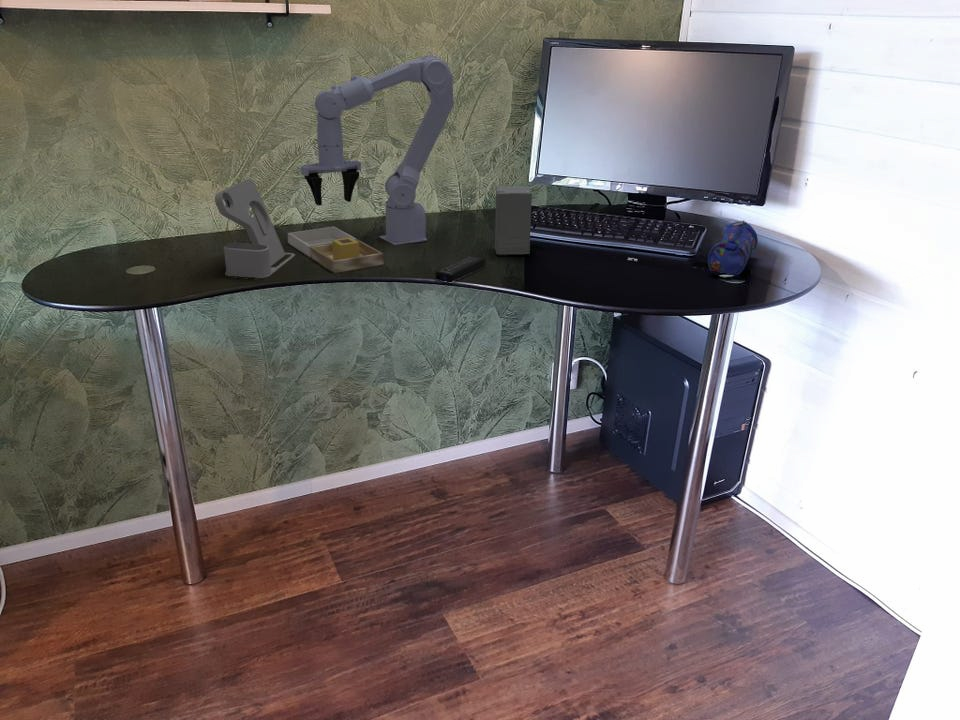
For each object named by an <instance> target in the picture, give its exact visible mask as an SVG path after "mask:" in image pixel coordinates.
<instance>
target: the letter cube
mask: <svg viewBox="0 0 960 720" xmlns="http://www.w3.org/2000/svg"><path fill="white" fill-rule="evenodd" d="M332 248H333V260H335V261H336V260H342V259H348V258H354V257H360V250H359V242H357V241H356V240H354V239H352V238H343V239H337V240H332Z"/></svg>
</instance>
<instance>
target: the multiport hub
mask: <svg viewBox="0 0 960 720" xmlns="http://www.w3.org/2000/svg"><path fill="white" fill-rule="evenodd" d="M486 261H487V259H486V258H484V257H479V256H475V255H468V256H466V257H463V258H462V259H460V260H457V261H455V262H453V263H451V264H448V265H446V266H444V267H442V268H440V269H437V270H435V273H434V277H435V278H434V279H438V280H442V281H447V282H452V281H453V280H455V279H458V278H460V277H462V276H464V275H467V274H469V273H471V272H474V271H476V270H478V269H480V268H482V267H484V266H486V264H487V262H486Z"/></svg>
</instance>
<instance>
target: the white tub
mask: <svg viewBox="0 0 960 720" xmlns="http://www.w3.org/2000/svg"><path fill="white" fill-rule="evenodd" d="M343 238H352V239H354V240H358V239H357V238H356V237H354V236H352V235H350V234H349V233H347V232H345V231H343V230H341V229H339V228H338V227H336V226H335V225H334V226H328V227H327V226H326V227H321V228H312V229H306V230H300V231H293V232H287V244H288V245H290V246H291V247H293V248H295V249H297V250H298V251H299V252H301V253H303V254H304V255H305V256H308V258H311V253H310V247H315V246H321V245H327V244H332V240H337V239H343Z"/></svg>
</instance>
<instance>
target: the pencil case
mask: <svg viewBox="0 0 960 720" xmlns="http://www.w3.org/2000/svg"><path fill="white" fill-rule="evenodd" d="M757 246H758V235H757V232H756V230H755V229H754V227H752V226H751V224H749V223H748V222H746V221H745V220H744V219H743V220H740V221H735V222H732V223H729V224H727V225H726V226H725V227H724V229H723V230H722V233H721V240H720V242H717V243H715V244H714V245H712V248H711V249H710V250H709V253H708V256H707V264H708V265H707V266H708V269H709V271H710V270H711V271H717V272H720V273H726V274H734V275H737V276H739V275H741V273H742V272H744V270H745V267H746V266H747V263H748V260H749V259H750V258H751V256H752V255H753V253H754V251H755V250H756V249H757ZM711 271H710V272H711Z"/></svg>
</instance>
